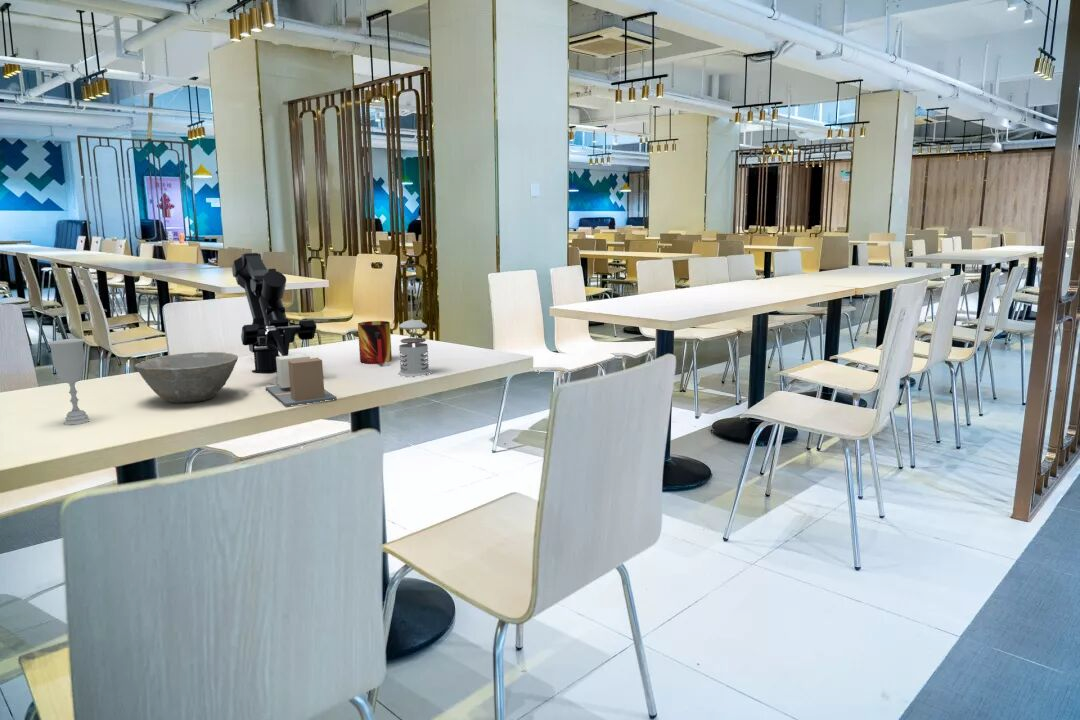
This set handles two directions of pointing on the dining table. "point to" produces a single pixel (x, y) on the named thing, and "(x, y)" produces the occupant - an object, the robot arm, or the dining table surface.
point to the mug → (374, 342)
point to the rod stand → (303, 384)
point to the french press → (413, 349)
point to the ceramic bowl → (187, 375)
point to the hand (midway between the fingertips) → (286, 357)
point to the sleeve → (286, 368)
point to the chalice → (70, 372)
